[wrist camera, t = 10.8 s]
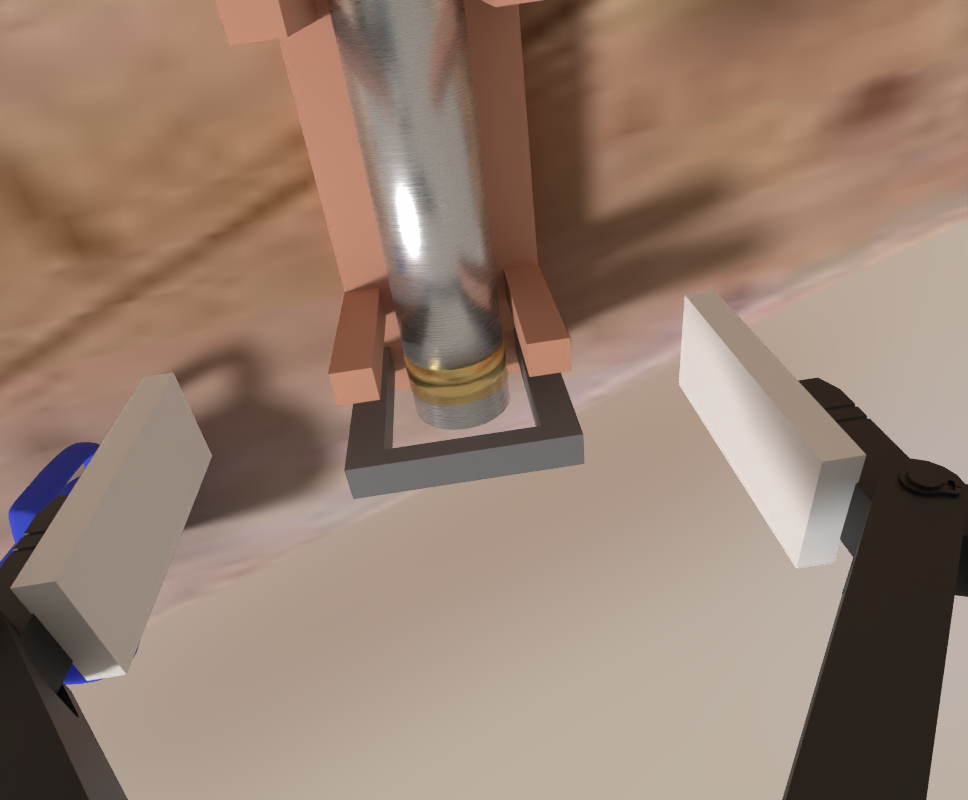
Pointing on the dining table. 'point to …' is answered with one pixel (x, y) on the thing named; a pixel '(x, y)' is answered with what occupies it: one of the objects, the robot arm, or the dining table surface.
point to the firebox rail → (367, 300)
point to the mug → (42, 494)
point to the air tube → (428, 198)
